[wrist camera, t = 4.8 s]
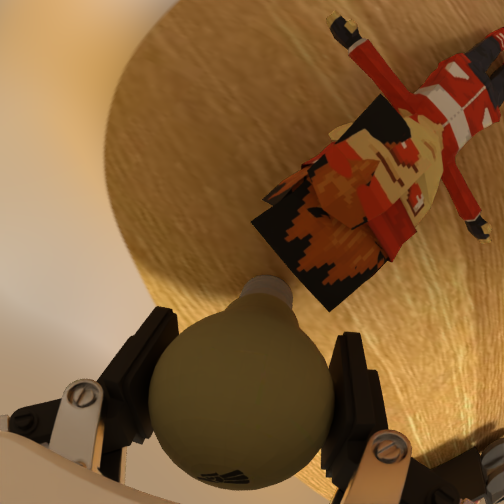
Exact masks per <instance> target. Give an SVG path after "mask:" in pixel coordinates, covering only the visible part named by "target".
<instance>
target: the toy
mask: <svg viewBox="0 0 504 504" xmlns="http://www.w3.org/2000/svg"><path fill="white" fill-rule="evenodd" d="M326 23H327V25H328V27H329V29H330V31H331V32H332V34H333V36H334V38H335V39H336V40H337V41H338V42H339V43H340V44H341V45H342V46H344V47H345V48H346V49H347V50H348V56H349V57H350V58H351V59H352V60H353V61H354V62H355V63H356V64H357V65H358V66H359V67H360V68H361V69H362V70H363V71H364V72H365V73H366V74H367V75H368V76H369V77H370V78H371V79H372V80H373V82H374V83H375V84H376V85H377V86H378V88H379V89H380V90H381V91H382V92H383V94H384V95H385V96H386V97H387V99H388V100H389V101H390V103H391V104H392V105H391V104H390V103H389V102H388V101H387V100H386V99H385V98H384V97H383V96H382V95H381V94H380V95H379V96H378V97H377V98H376V99H375V100H374V101H373V102H372V103H371V104H370V105H369V107H368V108H367V109H366V110H365V111H364V112H363V113H362V114H361V115H360V116H359V117H358V119H357V120H356V121H355V122H354V123H353V122H350V123H347V124H345V125H342V126H339V127H337V128H336V129H334V130H333V131H331V132H330V133H329V134H328V135H329V136H330V138H331V140H332V142H331V143H330V144H329V145H328V146H327V147H326V148H325V149H324V150H323V151H322V152H321V153H320V154H319V155H317V156H316V157H314V158H312V159H310V160H309V161H307V162H305V163H303V164H302V166H301V170H300V171H298V172H296V173H295V174H293V175H291V176H290V177H288V178H286V179H285V180H283V181H282V182H281V183H280V184H279V185H278V186H277V187H275V188H274V189H273V190H272V191H271V192H270V193H269V194H268V195H266V196H265V197H264V198H263V199H262V200H263V201H265V202H267V203H269V204H271V205H273V206H272V207H271V208H269V209H268V210H266V211H265V212H264V213H262V214H261V215H259V216H258V217H256V218H255V219H254V220H252V221H251V224H252V225H253V226H254V227H255V228H256V229H257V231H258V232H259V233H260V234H261V235H262V237H263V238H264V239H265V240H266V241H267V243H268V244H269V245H270V246H271V247H272V249H273V250H274V251H275V252H276V253H277V255H278V256H279V257H280V258H281V259H282V261H283V262H284V263H285V264H286V265H287V267H288V268H289V269H290V270H291V271H292V273H293V274H294V275H295V276H296V277H297V278H298V279H299V280H300V281H301V282H302V284H303V285H304V286H305V287H306V288H307V289H308V290H309V291H310V292H311V293H312V294H313V295H314V296H315V297H316V299H317V300H318V301H319V302H320V303H321V304H322V305H323V306H324V307H325V308H326V309H327V310H328V312H330V311H332V310H333V309H334V308H335V307H336V306H338V305H339V304H340V303H341V302H342V301H343V300H345V299H346V298H347V297H348V296H349V295H350V294H352V293H353V292H354V291H355V290H356V289H357V288H358V287H360V286H361V285H362V284H363V283H364V282H365V281H367V280H368V279H370V278H371V277H372V276H373V275H374V274H375V273H376V272H377V271H378V270H379V269H380V268H381V267H382V266H383V265H384V264H385V263H386V262H387V261H390V262H393V260H394V258H395V257H396V255H397V253H398V251H399V250H400V248H401V246H402V244H403V243H405V242H406V241H407V240H408V239H409V238H410V237H412V236H413V235H414V234H415V233H416V232H417V231H416V229H415V227H416V226H417V225H418V223H419V222H420V221H421V220H422V218H423V217H424V216H425V215H426V213H427V212H428V211H429V209H430V208H431V206H432V203H433V200H434V197H435V194H436V191H437V188H438V185H439V182H440V179H442V181H443V183H444V185H445V186H446V188H447V190H448V192H449V194H450V196H451V198H452V200H453V203H454V205H455V207H456V209H457V212H458V214H459V216H460V217H461V218H462V219H463V220H465V223H466V226H467V228H468V231H469V232H470V233H471V234H472V235H473V236H474V237H475V238H476V239H477V240H478V241H479V242H481V243H482V244H484V243H489V242H491V241H492V240H491V238H490V235H489V234H490V232H491V230H492V228H491V226H490V224H489V223H488V222H486V221H485V220H484V219H483V218H482V217H481V215H480V213H481V211H482V210H481V208H480V207H479V205H478V203H477V202H476V200H475V198H474V197H473V195H472V193H471V191H470V190H469V188H468V186H467V184H466V182H465V180H464V178H463V177H462V175H461V173H460V171H459V169H458V167H457V166H456V163H455V156H456V154H457V153H458V152H459V151H460V150H461V148H462V147H463V146H464V144H465V143H466V142H467V141H468V140H469V139H470V138H472V137H473V136H474V135H475V134H476V133H477V132H479V131H481V130H483V129H484V128H486V127H488V126H489V125H491V124H493V123H494V122H499V121H500V117H501V114H500V110H499V107H500V106H501V104H502V103H503V101H504V62H503V63H502V66H501V67H500V68H498V69H497V70H496V71H495V72H494V73H493V74H492V75H491V77H490V78H489V77H488V75H487V74H486V71H487V69H488V68H489V66H490V65H491V63H492V62H493V61H494V60H495V59H496V58H497V56H498V55H499V53H500V52H501V51H503V50H504V27H502V28H500V29H498V30H496V31H494V32H491V33H490V34H489V35H487V36H486V37H485V39H484V40H483V41H481V42H480V43H478V44H476V45H475V46H474V47H473V48H472V49H471V50H469V51H468V52H466V53H465V54H463V53H459V54H456V55H454V56H452V57H450V58H448V59H446V60H444V61H442V62H440V63H439V64H438V68H437V69H436V70H435V71H433V72H432V73H431V74H430V76H429V77H428V78H427V80H426V81H425V83H424V84H423V85H422V86H421V87H420V88H419V89H418V90H417V91H416V92H415V93H414V94H413V93H410V92H409V91H408V90H407V89H406V88H405V86H404V85H403V84H402V82H401V81H400V80H399V78H398V77H397V76H396V75H395V73H394V72H393V71H392V70H391V69H390V67H389V66H388V65H387V63H386V62H385V61H384V59H383V58H382V57H381V55H380V54H379V53H378V51H377V50H376V49H375V47H374V46H373V45H372V43H371V42H370V41H369V40H368V39H364V38H362V37H361V36H360V34H359V31H358V25H357V24H356V23H355V22H354V21H353V20H352V19H351V20H349V21H346V20H345V19H344V18H343V17H342V16H341V15H340V14H339V13H338V12H336V11H334V12H333V13H332V14H331V15H330V16H329V17H327V18H326Z"/></svg>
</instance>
